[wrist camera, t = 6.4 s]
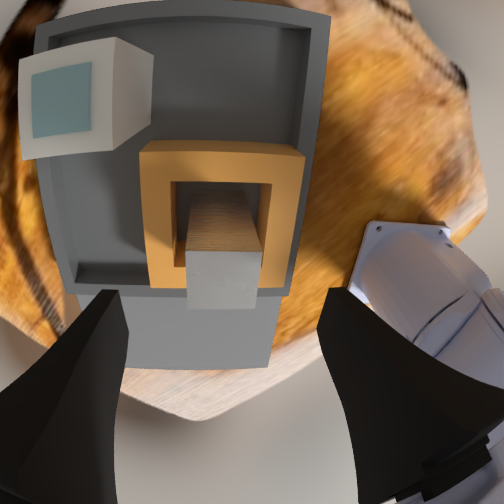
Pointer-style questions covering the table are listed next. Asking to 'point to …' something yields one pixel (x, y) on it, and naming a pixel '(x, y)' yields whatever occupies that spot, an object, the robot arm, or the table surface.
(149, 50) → the grey rimmed tray
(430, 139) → the table surface
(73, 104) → the block
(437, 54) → the table surface
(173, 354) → the lid
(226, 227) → the grey rectangular block
